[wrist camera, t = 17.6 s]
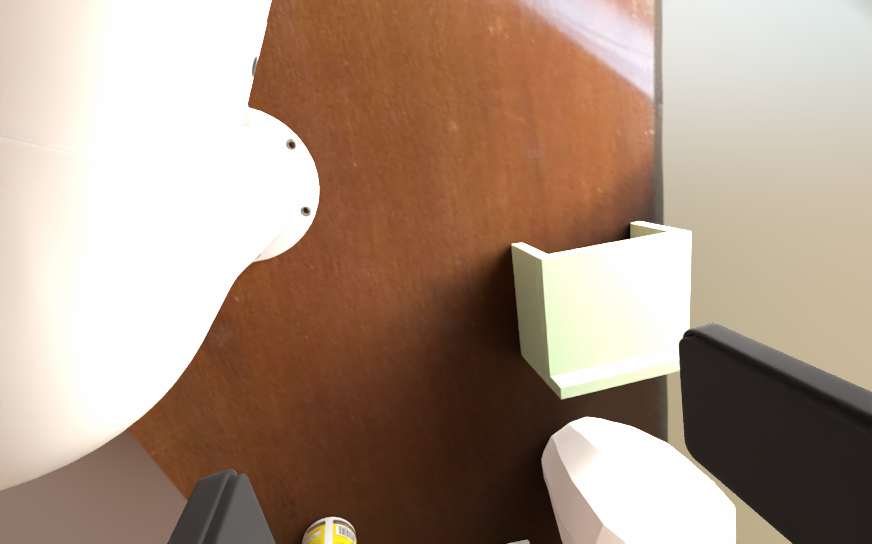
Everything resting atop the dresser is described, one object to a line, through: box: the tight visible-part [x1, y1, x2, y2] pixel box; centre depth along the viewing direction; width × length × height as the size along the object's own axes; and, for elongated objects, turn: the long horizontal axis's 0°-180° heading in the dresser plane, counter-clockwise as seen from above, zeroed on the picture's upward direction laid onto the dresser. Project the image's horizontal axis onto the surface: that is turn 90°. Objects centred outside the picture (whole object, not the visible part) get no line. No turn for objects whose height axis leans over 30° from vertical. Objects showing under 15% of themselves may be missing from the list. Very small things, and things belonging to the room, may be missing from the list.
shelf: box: [511, 221, 692, 399], centre depth 41 cm, size 12×14×9 cm
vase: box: [541, 417, 736, 544], centre depth 38 cm, size 14×14×25 cm
